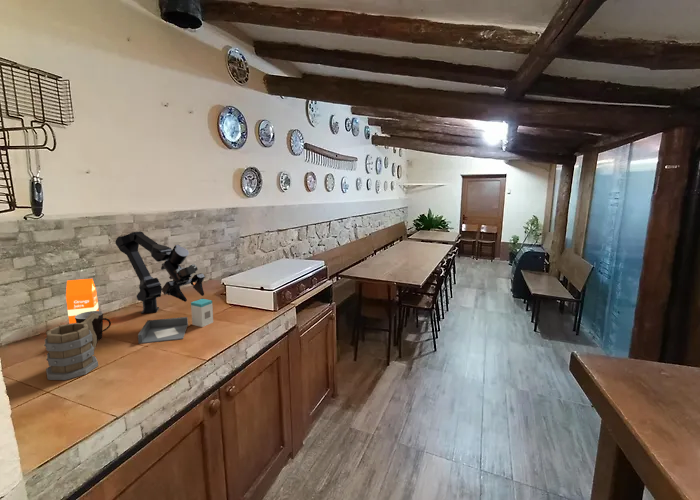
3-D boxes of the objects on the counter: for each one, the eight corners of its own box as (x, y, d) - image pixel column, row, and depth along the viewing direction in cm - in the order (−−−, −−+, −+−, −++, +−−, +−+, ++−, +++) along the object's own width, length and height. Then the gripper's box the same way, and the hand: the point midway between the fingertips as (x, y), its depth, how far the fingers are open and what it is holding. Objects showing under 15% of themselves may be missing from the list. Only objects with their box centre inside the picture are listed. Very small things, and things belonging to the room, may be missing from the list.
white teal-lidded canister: (192, 324, 150) (190, 302, 148) (203, 320, 155) (202, 298, 154) (202, 327, 147) (201, 304, 146) (213, 322, 153) (212, 300, 151)
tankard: (76, 381, 105) (70, 334, 103) (35, 379, 106) (28, 333, 103) (120, 350, 125) (116, 311, 123) (86, 349, 125) (81, 310, 123)
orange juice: (75, 323, 149) (69, 278, 145) (100, 320, 153) (95, 276, 149) (69, 330, 142) (63, 282, 138) (96, 327, 146) (90, 280, 142)
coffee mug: (73, 341, 132) (70, 316, 130) (98, 333, 140) (95, 309, 138) (89, 348, 127) (86, 322, 125) (114, 339, 134) (112, 314, 133)
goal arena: (148, 328, 145) (147, 320, 144) (187, 324, 150) (187, 316, 149) (138, 343, 131) (137, 335, 130) (182, 339, 135) (182, 330, 135)
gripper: (164, 263, 142) (185, 292, 139) (200, 255, 159) (220, 282, 156) (152, 279, 147) (173, 308, 144) (189, 270, 163) (208, 296, 161)
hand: (195, 298), depth 151 cm, fingers open, 9 cm apart
